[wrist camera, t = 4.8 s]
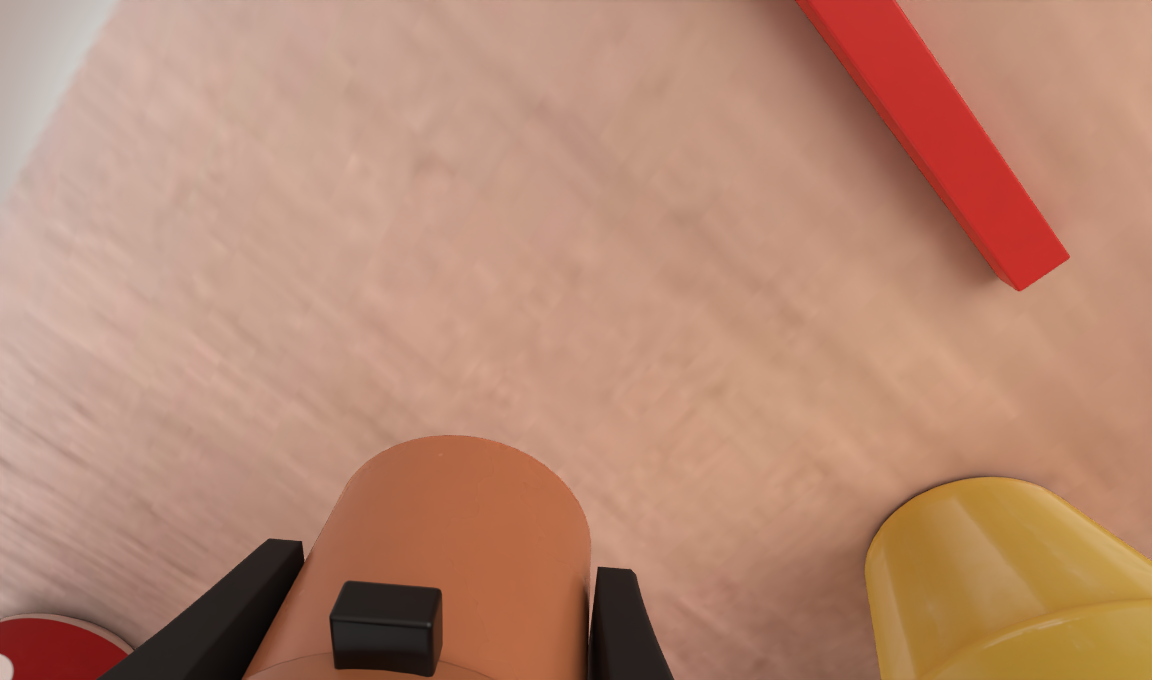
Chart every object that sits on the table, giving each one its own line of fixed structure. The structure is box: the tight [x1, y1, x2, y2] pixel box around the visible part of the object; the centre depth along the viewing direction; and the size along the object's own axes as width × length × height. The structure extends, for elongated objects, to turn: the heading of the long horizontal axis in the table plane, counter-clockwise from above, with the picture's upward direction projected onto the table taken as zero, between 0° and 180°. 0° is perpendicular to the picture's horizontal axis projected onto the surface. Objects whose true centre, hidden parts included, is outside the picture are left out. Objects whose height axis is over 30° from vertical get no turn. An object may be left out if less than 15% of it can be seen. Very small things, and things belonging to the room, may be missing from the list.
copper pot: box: [242, 435, 591, 680], centre depth 12 cm, size 7×6×6 cm
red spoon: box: [795, 0, 1070, 291], centre depth 16 cm, size 14×3×1 cm, turn 43°
